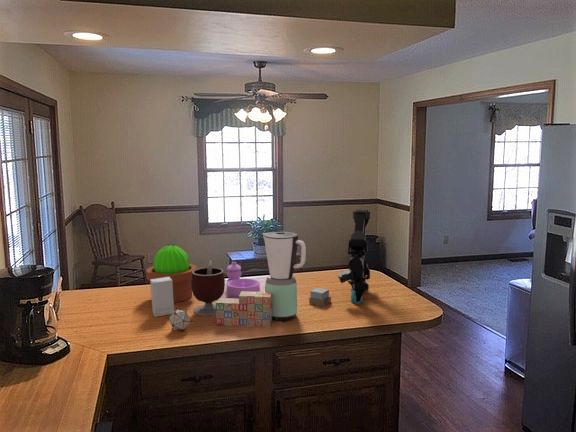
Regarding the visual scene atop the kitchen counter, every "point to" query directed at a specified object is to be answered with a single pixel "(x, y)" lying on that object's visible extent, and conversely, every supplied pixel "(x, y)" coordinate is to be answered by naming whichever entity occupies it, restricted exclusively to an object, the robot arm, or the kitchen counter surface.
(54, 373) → the kitchen counter surface
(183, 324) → the game die
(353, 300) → the teal domed cylinder
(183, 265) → the potted cactus
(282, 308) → the blender
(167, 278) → the skincare box
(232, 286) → the purple toy boat
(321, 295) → the tower top
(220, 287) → the mate gourd
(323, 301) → the tower base
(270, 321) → the stack of blocks
